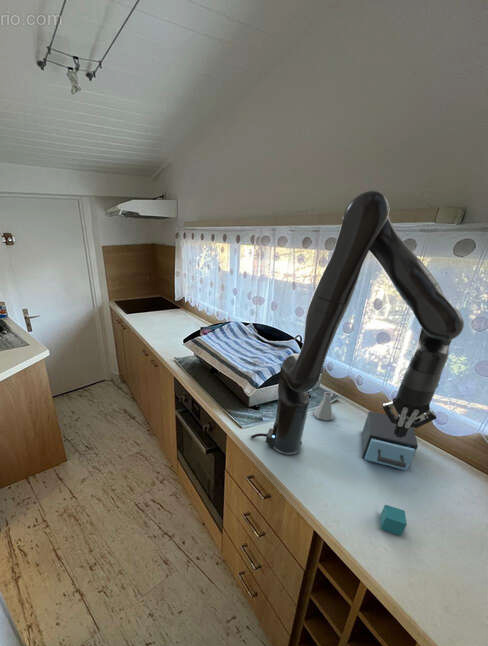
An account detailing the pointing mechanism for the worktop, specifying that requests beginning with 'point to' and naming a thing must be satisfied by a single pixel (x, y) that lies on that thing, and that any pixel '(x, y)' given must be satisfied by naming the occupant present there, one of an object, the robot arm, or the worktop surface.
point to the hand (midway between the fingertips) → (398, 435)
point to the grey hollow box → (384, 432)
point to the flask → (325, 408)
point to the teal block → (393, 520)
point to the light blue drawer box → (389, 453)
